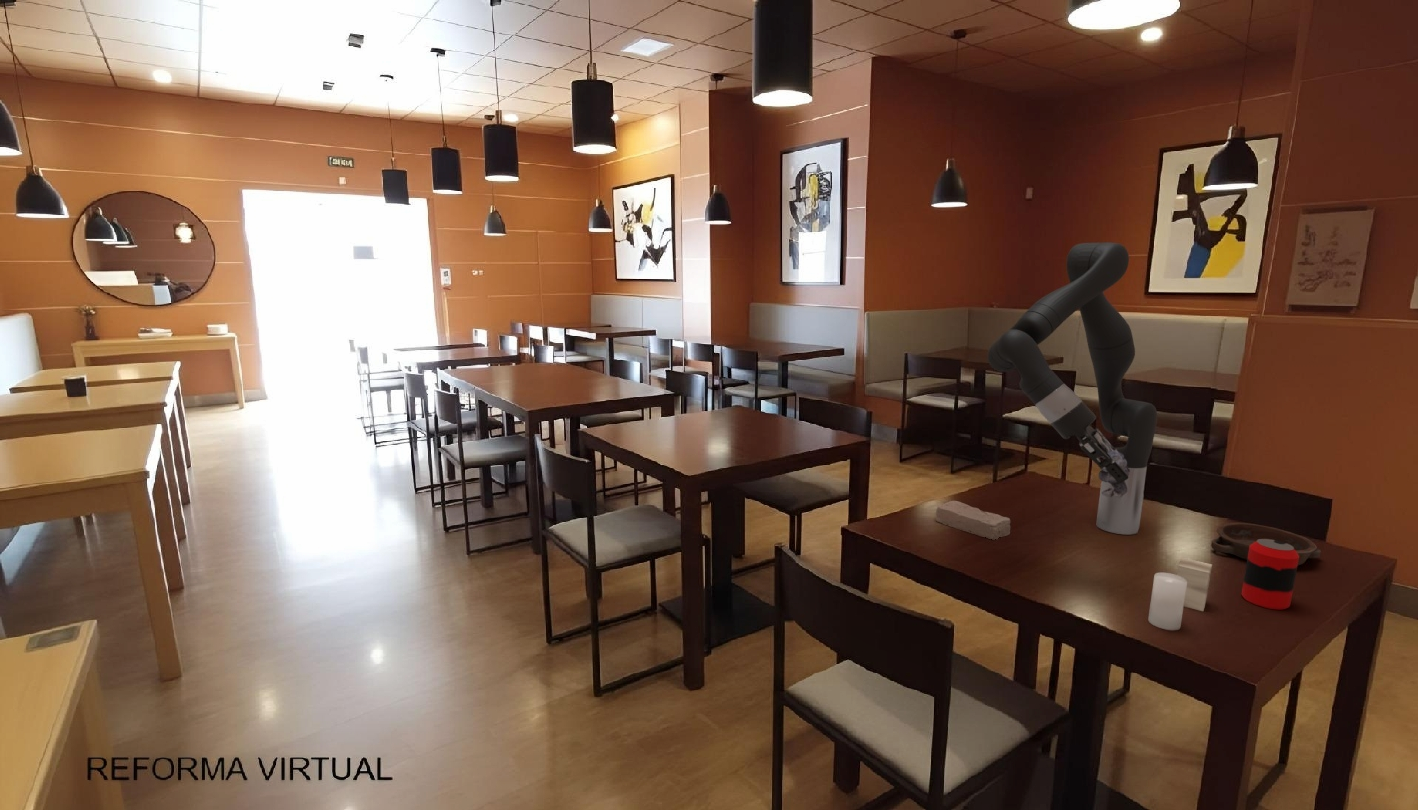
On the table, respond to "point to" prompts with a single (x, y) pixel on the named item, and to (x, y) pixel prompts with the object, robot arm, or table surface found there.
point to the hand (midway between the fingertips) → (1124, 476)
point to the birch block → (1195, 582)
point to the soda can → (1270, 574)
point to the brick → (973, 520)
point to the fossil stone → (1107, 477)
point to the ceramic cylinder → (1167, 601)
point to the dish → (1244, 534)
